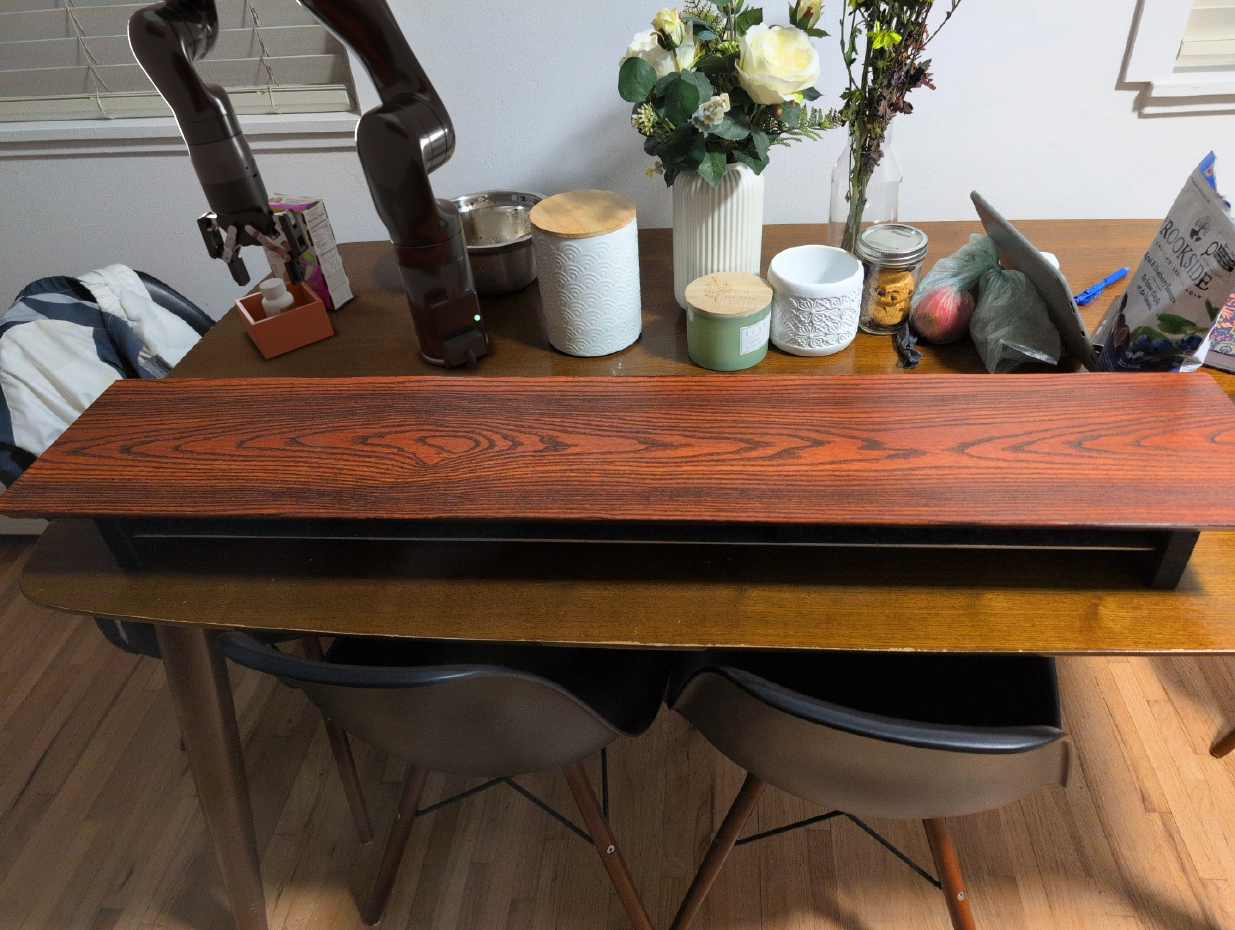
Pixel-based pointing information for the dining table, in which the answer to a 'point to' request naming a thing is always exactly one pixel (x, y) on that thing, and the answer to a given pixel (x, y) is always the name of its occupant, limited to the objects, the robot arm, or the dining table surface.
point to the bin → (285, 321)
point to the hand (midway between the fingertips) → (271, 283)
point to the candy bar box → (313, 250)
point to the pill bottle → (276, 297)
